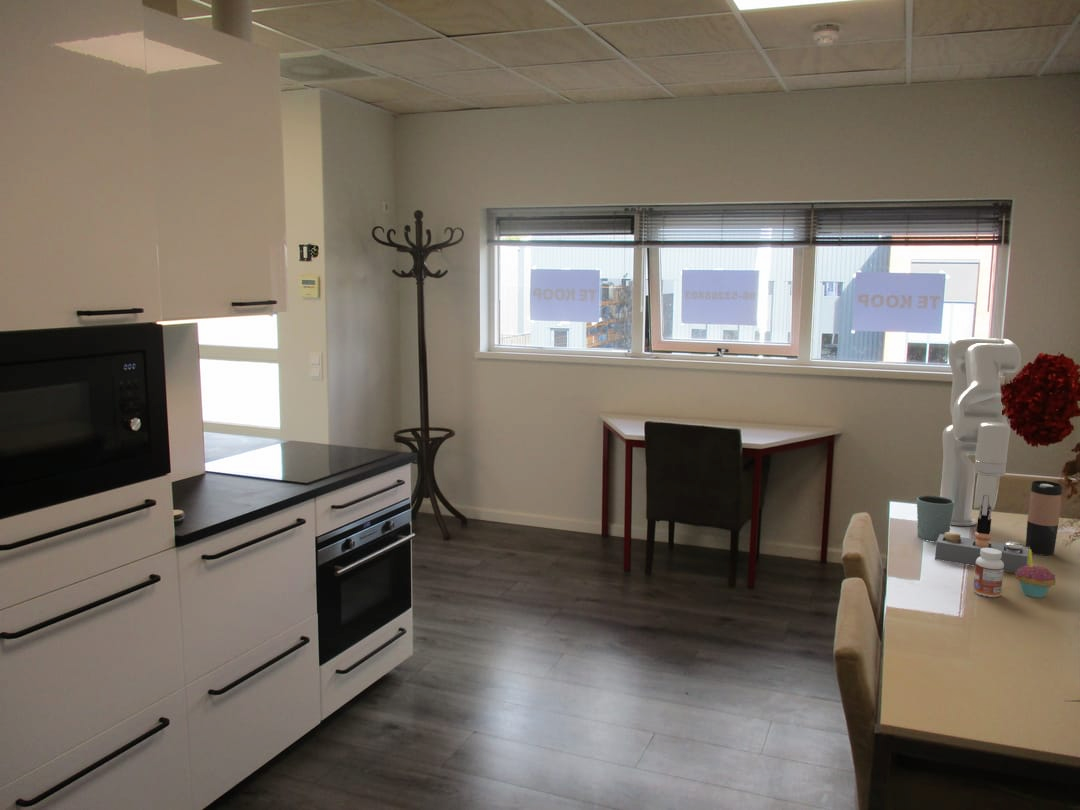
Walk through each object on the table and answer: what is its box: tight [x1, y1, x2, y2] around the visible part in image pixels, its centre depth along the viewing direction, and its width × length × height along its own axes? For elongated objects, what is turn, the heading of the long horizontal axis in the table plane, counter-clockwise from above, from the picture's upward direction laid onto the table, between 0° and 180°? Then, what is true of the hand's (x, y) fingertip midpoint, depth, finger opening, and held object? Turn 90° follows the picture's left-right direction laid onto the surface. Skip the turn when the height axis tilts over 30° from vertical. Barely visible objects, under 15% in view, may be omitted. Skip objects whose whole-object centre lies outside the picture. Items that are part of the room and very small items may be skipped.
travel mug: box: [1025, 480, 1063, 556], centre depth 241 cm, size 8×8×20 cm
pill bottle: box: [972, 548, 1004, 598], centre depth 208 cm, size 6×6×11 cm
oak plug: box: [944, 531, 961, 543], centre depth 235 cm, size 4×4×6 cm
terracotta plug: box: [974, 530, 992, 548], centre depth 231 cm, size 4×4×6 cm
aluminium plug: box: [1004, 540, 1023, 553], centre depth 227 cm, size 4×4×6 cm
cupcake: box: [1015, 547, 1057, 599], centre depth 208 cm, size 9×8×12 cm
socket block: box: [934, 534, 1029, 574], centre depth 231 cm, size 9×22×5 cm, turn 59°
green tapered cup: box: [916, 494, 954, 543], centre depth 252 cm, size 10×10×12 cm
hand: (983, 532), depth 231 cm, fingers closed
